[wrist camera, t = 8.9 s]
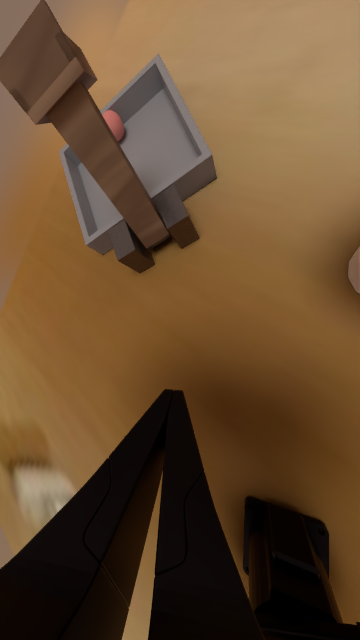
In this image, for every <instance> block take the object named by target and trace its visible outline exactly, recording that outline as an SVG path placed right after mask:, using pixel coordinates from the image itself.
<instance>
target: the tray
mask: <svg viewBox="0 0 360 640" xmlns="http://www.w3.org/2000/svg"><path fill="white" fill-rule="evenodd" d="M107 110H112V111H114V112H116V113H117V114H118V115H119V116H120V118H121V120H122V122H123V126H124V134H123V137H122V139H121V140H120V141H118V143H119V145H120V146H121V148H122V150H123V151H124V153H125V155H126V157H127V158H128V160H129V162H130V163H131V165H132V167H133V168H134V170H135V172H136V174H137V175H138V177H139V179H140V180H141V182H142V184H143V185H144V187H145V189H146V191H147V192H148V194H149V196H150V197H151V199H152V201H153V202H154V204H155V206H156V208H157V209H158V211H159V208H158V206H157V203H156V201H155V199H154V198H155V197H156V196H158V195H159V194H161V193H162V192H163V191H165V190H166V189H168V188H169V187H170V186H172V185H173V184H174V185H175V187H176V189H177V191H178V193H179V195H180V197H181V199H182V201H184V200H185V199H187V198H188V197H190V196H191V195H193V194H194V193H196V192H197V191H198V190H200V189H201V188H203V187H204V186H206V185H207V184H209V183H210V182H212V181H213V180H215V179H216V178H217V177H216V172H215V167H214V161H213V156H212V153H211V151H210V150H209V148H208V146H207V144H206V142H205V140H204V138H203V136H202V134H201V133H200V131H199V129H198V127H197V125H196V123H195V121H194V119H193V117H192V116H191V114H190V112H189V110H188V108H187V106H186V104H185V102H184V100H183V99H182V97H181V95H180V93H179V91H178V89H177V87H176V85H175V83H174V82H173V80H172V78H171V76H170V74H169V72H168V70H167V68H166V66H165V65H164V63H163V61H162V59H161V57H160V55H159V54H157V55H156V56H155V57H154V58H153V59H152V60H151V61H150V62H149V63H148V64H147V65H146V66H145V67H144V68H143V69H142V70H141V71H140V72H139V73H138V74H137V75H136V76H135V77H134V78H133V79H132V80H131V81H130V82H129V83H128V84H127V85H126V86H125V87H124V88H123V89H122V90H121V91H120V92H119V93H118V94H117V95H116V96H115V97H114V98H113V99H112V100H111V101H110V102H109V103H108V104H107V105H106V106H105V107H104V108H103V109H102V110H101V111H100V112H101V114H102V115H103V113H104V112H105V111H107ZM59 154H60V157H61V161H62V164H63V168H64V171H65V175H66V178H67V182H68V185H69V188H70V192H71V195H72V199H73V202H74V206H75V209H76V213H77V216H78V219H79V223H80V226H81V230H82V233H83V237H84V240H85V244H86V245H87V246H88V247H90V248H92V249H94V250H95V251H97V252H99V253H101V254H105V253H106V252H108V251H109V250H111V249H112V248H114V247H113V244H112V241H111V238H110V235H109V232H108V231H109V230H110V229H112V228H113V227H115V226H116V225H117V224H119V223H120V222H122V221H123V220H124V218H123V217H122V215H121V214H120V213H119V211H118V210H117V209H116V207H115V206H114V205H113V203H112V202H111V201H110V199H109V198H108V197H107V195H106V194H105V193H104V191H103V190H102V189H101V188H100V186H99V185H98V184H97V182H96V181H95V180H94V178H93V177H92V176H91V174H90V173H89V172H88V170H87V169H86V168H85V166H84V165H83V164H82V162H81V161H80V160H79V158H78V157H77V156H76V154H75V153H74V152H73V150H72V149H71V148H70V146H69V145H68V144H66V145H65V146H64V147H63V148H62V149H61V150H60V151H59ZM159 213H160V211H159ZM160 214H161V213H160Z"/></svg>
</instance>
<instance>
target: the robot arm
mask: <svg viewBox="0 0 360 640" xmlns="http://www.w3.org/2000/svg"><path fill="white" fill-rule="evenodd" d="M162 471H163V478H162V490H161V502H160V515H159V527H158V539H157V551H156V564H155V578H154V588H153V599H152V609H151V618H150V627H149V635H148V640H360V622H356V624H357V625H352V624H344V623H343V621H342V618H341V615H340V612H339V609H338V606H337V603H336V600H335V597H334V594H333V591H332V588H331V585H330V582H329V533H328V530H327V528H326V526H325V524H324V523H322V522H321V521H318V520H315V519H312V518H309V517H307V516H304V515H301V514H298V513H295V512H292V511H289V510H286V509H284V508H281V507H278V506H275V505H272V504H269V503H266V502H263V501H260V500H257V499H254V498H251V497H247V498H246V499H245V520H244V556H243V569H244V572H245V573H246V574H247V575H248V576H249V599H248V597H247V594H246V591H245V589H244V586H243V583H242V581H241V578H240V575H239V573H238V570H237V567H236V565H235V562H234V559H233V556H232V554H231V551H230V548H229V546H228V543H227V540H226V538H225V535H224V532H223V530H222V527H221V524H220V521H219V518H218V515H217V512H216V510H215V507H214V503H213V500H212V497H211V493H210V490H209V486H208V483H207V479H206V475H205V473H204V468H203V464H202V461H201V457H200V453H199V449H198V446H197V442H196V438H195V434H194V430H193V427H192V423H191V419H190V415H189V412H188V408H187V404H186V400H185V397H184V393H183V391H182V390H171V389H165V390H164V391H163V392H162V393H161V394H160V396H159V397H158V398H157V399H156V400H155V402H154V403H153V404H152V405H151V406H150V408H149V409H148V410H147V411H146V412H145V414H144V415H143V416H142V417H141V418H140V420H139V421H138V422H137V423H136V424H135V426H134V427H133V428H132V429H131V430H130V432H129V433H128V434H127V435H126V436H125V438H124V439H123V440H122V441H121V442H120V444H119V445H118V446H117V447H116V448H115V450H114V451H113V452H112V453H111V454H110V456H109V458H107V459H106V460H105V462H104V463H103V464H102V465H101V466H100V468H99V469H98V470H97V471H96V472H95V473H94V475H93V476H92V477H91V478H90V479H89V480H88V481H87V483H86V484H85V485H84V486H83V487H82V488H81V489H80V490H79V491H78V492H77V493H76V494H75V495H74V496H73V497H72V499H71V500H70V501H69V502H68V503H67V504H66V505H65V506H64V507H63V508H62V509H61V510H60V511H59V512H58V513H57V514H56V515H55V516H54V517H53V518H52V519H51V520H50V521H49V522H48V523H47V524H46V525H45V526H44V527H43V528H42V529H41V530H40V531H39V532H38V533H37V534H36V535H35V536H34V537H33V538H32V539H31V541H30V542H29V543H28V544H27V545H26V546H25V547H24V548H23V549H22V550H21V551H20V552H19V553H18V554H17V555H15V556H14V557H13V558H12V559H11V560H10V561H9V562H8V563H7V564H5V565H4V566H3V567H2V568H1V569H0V640H122V636H123V632H124V628H125V623H126V619H127V615H128V611H129V608H128V607H129V606H130V603H131V599H132V594H133V590H134V586H135V582H136V578H137V574H138V570H139V566H140V562H141V558H142V553H143V549H144V545H145V541H146V537H147V533H148V529H149V525H150V521H151V516H152V512H153V508H154V504H155V500H156V496H157V492H158V488H159V484H160V480H161V475H162ZM249 503H251V504H252V506H250V505H249ZM318 529H323V530H322V531H320V530H318ZM248 567H249V568H248Z"/></svg>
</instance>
